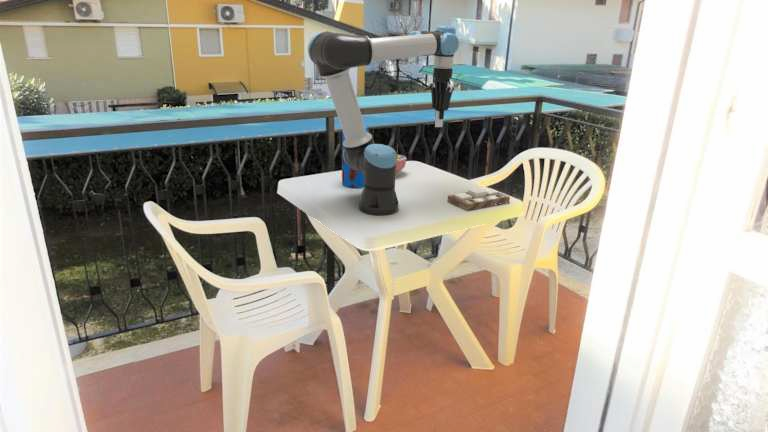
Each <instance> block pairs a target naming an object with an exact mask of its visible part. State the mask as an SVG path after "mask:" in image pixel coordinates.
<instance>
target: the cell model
mask: <svg viewBox="0 0 768 432" xmlns="http://www.w3.org/2000/svg"><path fill="white" fill-rule="evenodd" d="M396 158H397V163H396V174H397V173H399V172H400V171H402V170H403V169H404V168H405V166H406V162H407V157H406V156H405V155H402V154H397V153H396Z"/></svg>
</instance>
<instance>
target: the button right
mask: <svg viewBox="0 0 768 432" xmlns="http://www.w3.org/2000/svg"><path fill="white" fill-rule="evenodd" d="M482 190H484V191H486V195H488V196H491V195H497V194H499V193H500V191H498V190H495V189H493V188H491V187H489V188H484V189H482Z"/></svg>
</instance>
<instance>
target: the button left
mask: <svg viewBox="0 0 768 432" xmlns="http://www.w3.org/2000/svg"><path fill="white" fill-rule="evenodd" d="M453 195H454V197H455V198H457V199H459V200H461V201H463V200H469V199H472V196H470V195H468V194H466V192H461V193H455V194H453Z"/></svg>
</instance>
